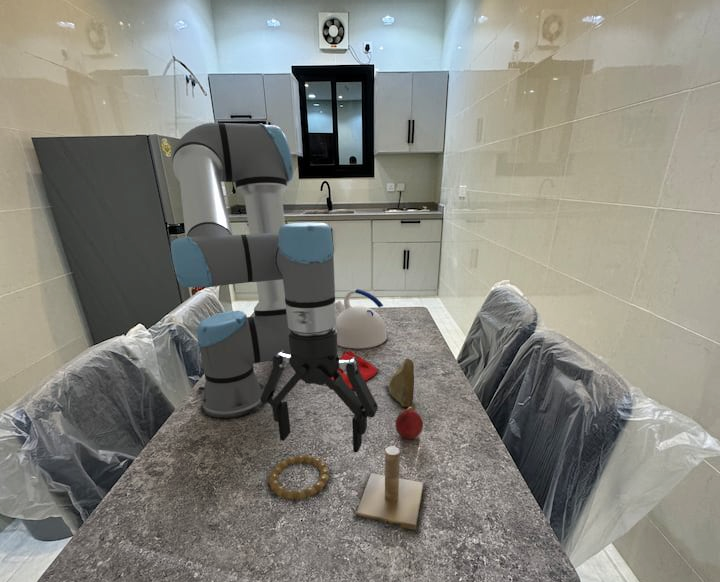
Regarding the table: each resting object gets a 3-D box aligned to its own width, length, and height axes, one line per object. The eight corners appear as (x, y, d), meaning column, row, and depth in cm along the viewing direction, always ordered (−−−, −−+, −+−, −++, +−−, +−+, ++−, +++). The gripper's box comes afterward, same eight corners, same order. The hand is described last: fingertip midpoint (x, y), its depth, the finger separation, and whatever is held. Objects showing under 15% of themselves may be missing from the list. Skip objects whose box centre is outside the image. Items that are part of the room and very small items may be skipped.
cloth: (370, 393, 102) (370, 386, 101) (321, 390, 104) (320, 383, 104) (381, 354, 126) (381, 348, 125) (340, 352, 128) (340, 346, 127)
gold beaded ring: (258, 495, 70) (257, 488, 69) (285, 456, 79) (285, 450, 79) (316, 507, 67) (315, 500, 66) (336, 465, 77) (336, 459, 76)
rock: (422, 403, 93) (428, 380, 101) (401, 377, 91) (409, 355, 99) (388, 418, 99) (396, 395, 107) (367, 394, 97) (378, 372, 105)
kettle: (352, 324, 153) (351, 280, 145) (397, 335, 141) (398, 287, 134) (318, 340, 138) (315, 291, 130) (365, 353, 126) (365, 300, 119)
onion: (404, 449, 81) (405, 417, 78) (390, 435, 85) (390, 404, 82) (427, 441, 83) (429, 410, 80) (411, 428, 88) (413, 397, 85)
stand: (356, 518, 64) (354, 465, 60) (370, 477, 73) (370, 428, 69) (415, 530, 62) (418, 476, 57) (423, 487, 71) (426, 437, 66)
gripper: (228, 330, 59) (246, 443, 67) (386, 343, 53) (385, 467, 61) (253, 315, 66) (267, 420, 74) (396, 326, 59) (394, 439, 68)
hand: (320, 441), depth 68 cm, fingers open, 13 cm apart
